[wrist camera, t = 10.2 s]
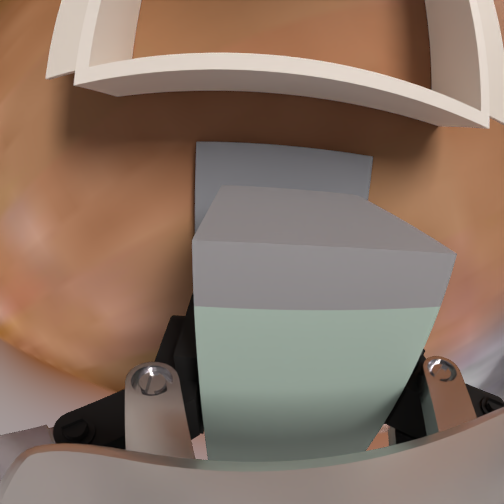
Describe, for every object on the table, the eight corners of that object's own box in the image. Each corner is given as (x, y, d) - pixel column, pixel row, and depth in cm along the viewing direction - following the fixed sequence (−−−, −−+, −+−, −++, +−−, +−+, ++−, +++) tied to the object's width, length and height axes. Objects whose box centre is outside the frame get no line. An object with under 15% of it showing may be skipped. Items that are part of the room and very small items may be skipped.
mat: (369, 156, 12) (372, 156, 12) (330, 358, 17) (332, 362, 16) (197, 141, 12) (196, 141, 12) (200, 356, 17) (199, 360, 16)
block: (357, 194, 10) (456, 254, 5) (319, 375, 14) (346, 476, 8) (221, 185, 10) (192, 240, 4) (220, 375, 13) (211, 483, 8)
